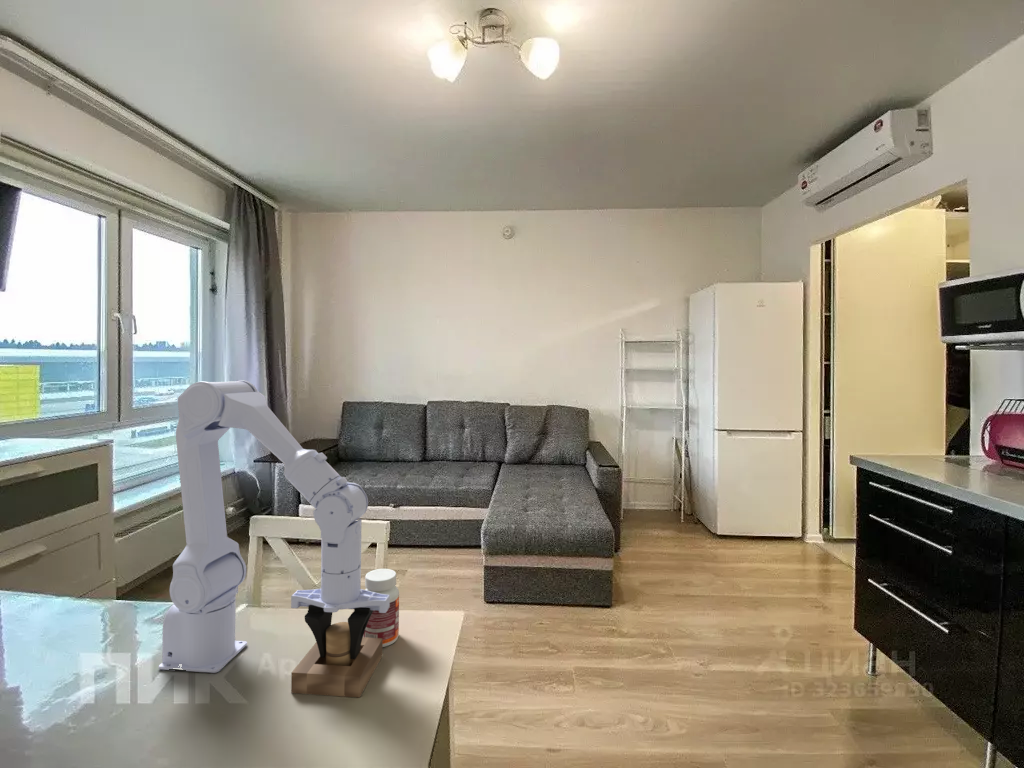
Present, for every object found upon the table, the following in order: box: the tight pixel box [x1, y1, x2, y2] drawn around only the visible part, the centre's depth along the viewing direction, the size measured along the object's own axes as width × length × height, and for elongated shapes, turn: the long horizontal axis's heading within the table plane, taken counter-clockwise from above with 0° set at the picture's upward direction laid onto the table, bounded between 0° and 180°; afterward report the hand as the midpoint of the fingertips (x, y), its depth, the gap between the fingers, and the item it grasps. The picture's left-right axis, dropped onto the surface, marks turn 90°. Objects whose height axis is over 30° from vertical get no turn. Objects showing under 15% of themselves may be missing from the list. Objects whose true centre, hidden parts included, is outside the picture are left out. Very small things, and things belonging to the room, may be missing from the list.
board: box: [290, 637, 383, 699], centre depth 76 cm, size 10×10×3 cm
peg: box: [326, 621, 354, 666], centre depth 76 cm, size 4×4×7 cm
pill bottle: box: [363, 568, 400, 648], centre depth 85 cm, size 6×6×11 cm
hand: (340, 654), depth 76 cm, fingers closed on peg, 4 cm apart
